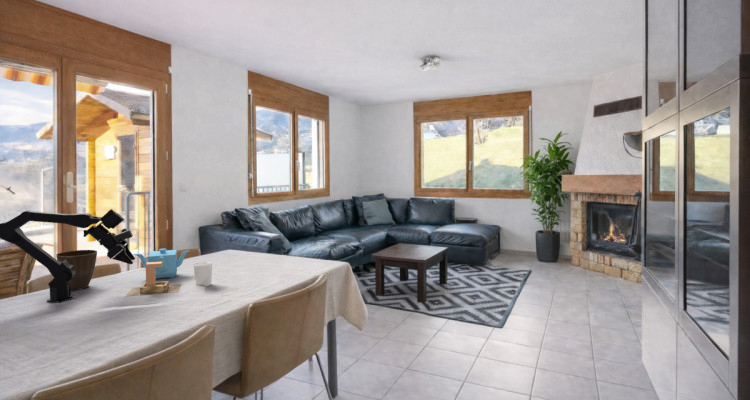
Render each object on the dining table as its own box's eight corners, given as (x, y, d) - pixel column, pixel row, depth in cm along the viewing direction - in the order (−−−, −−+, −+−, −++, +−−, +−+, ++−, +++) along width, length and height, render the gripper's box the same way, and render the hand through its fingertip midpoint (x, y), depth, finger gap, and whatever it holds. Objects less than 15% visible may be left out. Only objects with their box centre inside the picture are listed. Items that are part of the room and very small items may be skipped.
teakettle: (164, 272, 213) (163, 244, 212) (192, 275, 207) (192, 246, 206) (132, 281, 196) (131, 251, 195) (162, 284, 189) (161, 253, 188)
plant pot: (106, 283, 190) (105, 250, 189) (80, 293, 175) (78, 256, 174) (77, 282, 192) (75, 249, 191) (48, 291, 177) (47, 255, 176)
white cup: (190, 285, 188) (190, 264, 187) (204, 282, 195) (204, 261, 194) (202, 288, 184) (201, 266, 184) (216, 284, 191) (215, 263, 190)
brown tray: (124, 298, 168) (124, 290, 167) (132, 289, 181) (132, 282, 181) (178, 294, 174) (178, 286, 174) (181, 286, 187) (181, 278, 187)
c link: (146, 291, 175) (145, 264, 174) (148, 289, 178) (147, 262, 178) (161, 290, 177) (161, 263, 176) (163, 288, 180) (162, 261, 180)
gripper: (117, 225, 165) (147, 252, 171) (122, 221, 182) (150, 245, 187) (93, 245, 162) (125, 271, 167) (101, 238, 179) (129, 262, 184)
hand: (133, 261), depth 177 cm, fingers open, 9 cm apart
